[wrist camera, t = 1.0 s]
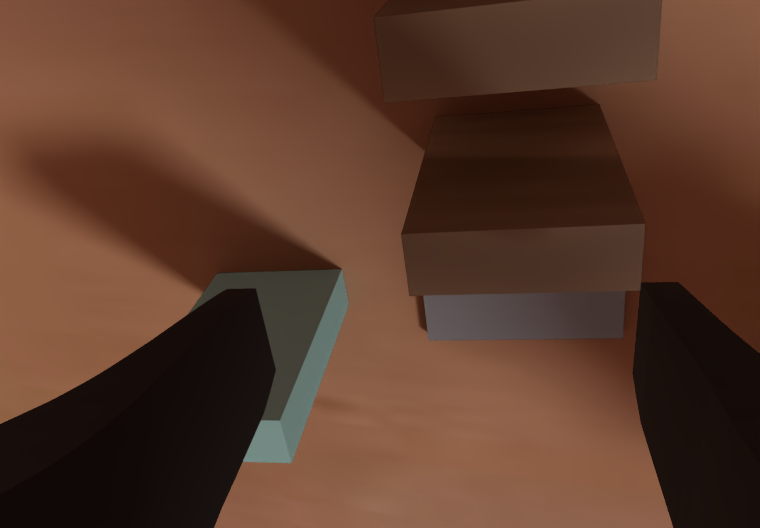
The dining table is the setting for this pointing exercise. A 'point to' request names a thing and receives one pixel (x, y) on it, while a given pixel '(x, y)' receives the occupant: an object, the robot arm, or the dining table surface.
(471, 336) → the slot pad
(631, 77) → the domino
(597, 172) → the domino
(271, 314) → the teal tile
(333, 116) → the dining table surface
